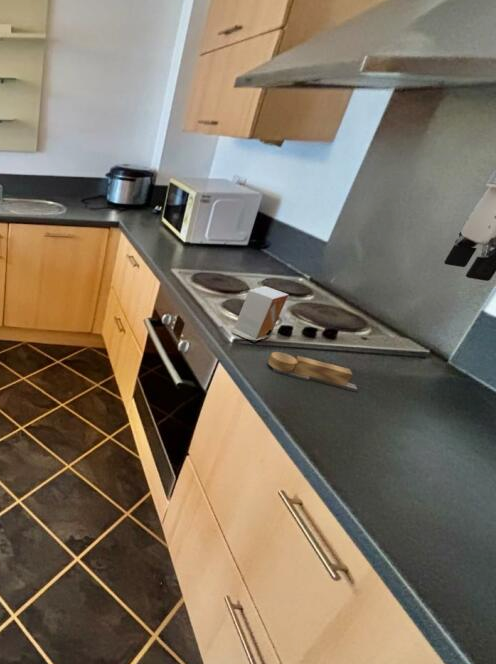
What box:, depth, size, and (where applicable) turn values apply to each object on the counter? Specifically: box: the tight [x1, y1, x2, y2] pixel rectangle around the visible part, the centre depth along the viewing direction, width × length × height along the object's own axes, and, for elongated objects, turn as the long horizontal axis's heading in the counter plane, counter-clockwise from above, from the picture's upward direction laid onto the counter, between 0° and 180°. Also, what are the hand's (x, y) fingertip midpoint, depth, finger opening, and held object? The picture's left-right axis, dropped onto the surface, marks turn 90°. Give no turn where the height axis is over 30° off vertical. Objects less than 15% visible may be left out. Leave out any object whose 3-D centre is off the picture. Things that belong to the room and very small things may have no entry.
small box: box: [233, 285, 289, 339], centre depth 110 cm, size 8×6×13 cm
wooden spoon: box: [267, 351, 353, 386], centre depth 95 cm, size 15×5×3 cm, turn 61°
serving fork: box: [271, 367, 358, 393], centre depth 95 cm, size 16×5×1 cm, turn 61°
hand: (464, 271), depth 81 cm, fingers open, 9 cm apart
